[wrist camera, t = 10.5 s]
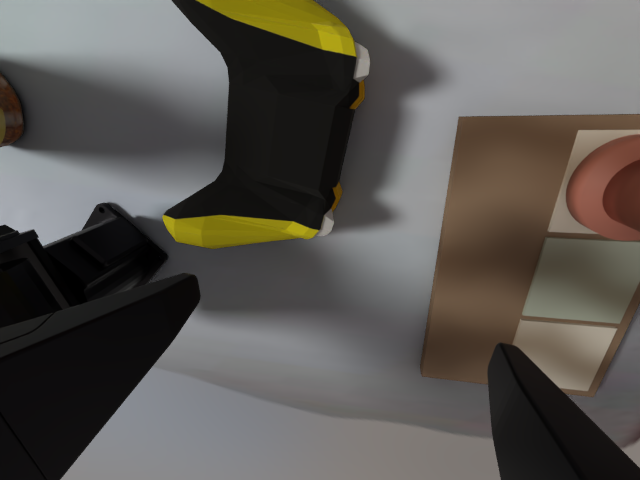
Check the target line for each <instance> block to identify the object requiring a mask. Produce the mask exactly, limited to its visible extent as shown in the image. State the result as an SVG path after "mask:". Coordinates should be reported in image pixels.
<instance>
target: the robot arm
mask: <svg viewBox="0 0 640 480" xmlns="http://www.w3.org/2000/svg"><path fill="white" fill-rule="evenodd" d="M103 209H104V210H105V211H104V210H103ZM159 256H160V257H161V258H160V257H159ZM167 259H168V257H167V254H166V253H165V252H164V251H162V250H161V249H160V248H159V247H158V246H157V245H155V244H154V243H153V242H152V241H151V240H150V239H148V238H147V237H146V236H145V235H144V234H143V233H141V232H140V231H139V230H138V229H137V228H135V227H134V226H133V225H132V224H131V223H130V222H128V221H127V220H126V219H125V218H124V217H123V216H121V215H120V214H119V213H118V212H117V211H116V210H114V209H113V208H112V207H111V206H110V205H109V204H107V203H100V204H98V205H97V206H96V207H95V209H94V211H93V212H92V214H91V216H90V217H89V219H88V221H87V222H86V224H85V226H84V227H83V229H82V230H81V231H79V232H76V233H74V234H72V235H69V236H67V237H64V238H62V239H59V240H57V241H54V242H52V243H50V244H47V245H45V246H42V244H41V243H40V241H39V240H38V235H37V234H36V232H35V231H34V229H33V230H29V231H26V232H22V233H19V232H18V231H17V230H16V231H15V230H14V229H12V228H10V227H8V226H6V225H2V226H0V480H60V479H61V478H62V477H63V476H64V474H65V473H66V472H67V471H68V469H69V468H70V467H71V466H72V464H73V463H74V462H75V461H76V460H77V458H78V457H79V456H80V455H81V453H82V452H83V451H84V450H85V448H86V447H87V446H88V445H89V443H90V442H91V441H92V440H93V439H94V437H95V436H96V435H97V434H98V433H99V431H100V430H101V429H102V427H103V426H104V425H105V424H106V423H107V422H108V420H109V419H110V418H111V417H112V415H113V414H114V413H115V412H116V410H117V409H118V408H119V407H120V406H121V404H122V403H123V402H124V401H125V399H126V398H127V397H128V396H129V395H130V393H131V392H132V391H133V390H134V388H135V387H136V386H137V385H138V383H139V382H140V381H141V380H142V378H143V377H144V376H145V375H146V374H147V372H148V371H149V370H150V369H151V368H152V366H153V365H154V364H155V363H156V361H157V360H158V359H159V358H160V356H161V355H162V354H163V353H164V352H165V350H166V349H167V348H168V347H169V345H170V344H171V343H172V341H173V340H174V339H175V337H176V336H177V334H178V333H179V331H180V330H181V328H182V327H183V326H184V324H185V323H186V321H187V320H188V318H189V317H190V315H191V314H192V312H193V311H194V309H195V308H196V306H197V305H198V303H199V301H200V296H201V295H200V290H199V284H198V279H197V277H196V276H195V275H192V274H188V273H182V274H179V275H175V276H172V277H169V278H165V279H162V280H159V281H156V282H152V283H149V281H150V280H151V279H152V278H153V277H154V275H155V274H156V273H157V272H158V270H159V269H160V268H161V267H162V266H163V264H164V263H165V262H166V261H167ZM148 283H149V284H148ZM487 376H488V388H489V401H490V414H491V426H492V435H493V441H494V446H495V451H496V457H497V462H498V467H499V472H500V477H501V480H640V468H639V467H638V466H637V465H636V464H635V463H634V462H633V461H632V460H631V459H630V458H629V457H628V456H627V455H626V454H625V453H624V452H623V451H622V450H621V449H620V448H619V447H618V446H617V445H616V444H615V443H614V442H613V441H612V440H611V439H610V438H609V437H608V436H607V435H606V434H605V433H604V432H603V431H602V430H601V429H600V428H599V427H598V426H597V425H596V424H595V423H594V422H593V421H592V420H591V419H590V418H589V417H588V416H587V415H586V414H585V413H584V412H583V411H582V410H581V409H580V408H579V407H578V406H577V405H576V404H575V403H574V402H573V401H572V400H571V399H570V398H569V397H568V396H567V395H566V394H565V393H564V392H563V391H562V390H561V389H560V388H559V387H558V386H557V385H556V384H555V383H554V382H553V381H552V380H551V379H550V378H549V377H548V376H547V375H546V374H545V373H544V372H543V371H542V370H541V369H540V368H539V367H538V366H537V365H536V364H535V363H534V362H533V361H532V360H531V359H530V358H529V357H528V356H527V355H526V354H525V353H524V352H523V351H522V350H521V349H520V348H518V347H517V346H515V345H511V344H507V343H502V342H500V343H498V344H497V345H496V346H495V349H494V352H493V354H492V357H491V359H490V362H489V365H488V370H487Z"/></svg>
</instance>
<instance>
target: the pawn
mask: <svg viewBox="0 0 640 480" xmlns="http://www.w3.org/2000/svg"><path fill="white" fill-rule="evenodd" d="M566 204H567V208H568V210H569V212H570V214H571V216H572V217H573V218H574V219H575V220H576V221H577V222H578V223H580V224H581V225H583V226H585V227H587V228H588V229H590V230H592V231H594V232H596V233H598V234H600V235H602V236H604V237H607V238H610V239H614V240H621V241H632V240H640V134H634V135H628V136H624V137H620V138H617V139H614V140H611V141H609V142H607V143H605V144H603V145H602V146H600V147H598V148H597V149H595V150H594V151H593V152H591V153H590V154H589V155H588V156H586V157H585V158H584V159H583V160H582V161H581V163H580V164H579V165H578V166H577V168H576V169H575V170H574V172H573V174H572V175H571V177H570V180H569V182H568V185H567V189H566Z"/></svg>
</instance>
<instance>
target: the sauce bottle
mask: <svg viewBox="0 0 640 480" xmlns="http://www.w3.org/2000/svg"><path fill="white" fill-rule="evenodd" d="M23 127H24V124H23V116H22V108H21V104H20V101H19V99H18V97H17V95H16V93H15V91H14V89H13V88H12V87H11V86H10V84H9V83H8V82H7V80H6V79H5V77H4V76H3V75H2V74H1V73H0V147H2V146H8V145H9V144H11V143H13V142H15V141H16V140H18V139H19V137H21V135H22V134H23V132H24V129H23Z"/></svg>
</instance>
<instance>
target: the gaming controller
mask: <svg viewBox="0 0 640 480" xmlns="http://www.w3.org/2000/svg"><path fill="white" fill-rule="evenodd" d="M172 1H173V3H174V4H175V5H176V6H177V7H178V8H179V9H180V11H181V12H182V13H183V14H184V15H185V16H186V17H187V18H188V20H189V21H190V22H191V23H192V24H193V25H194V26H195V27H196V28H197V29H198V30H199V31H200V32H201V33H202V34H203V35H204V36H205V37H206V38H207V39H208V40H209V41H210V42H211V43H212V44H213V45H214V46H215V47H216V48H217V49H218V50H219V51H220V52H221V54H222V56H223V59H224V61H225V63H226V65H227V67H228V75H229V96H228V114H227V131H226V149H225V161H224V165H223V170H222V172H221V173H220V175H219V176H218V177H217V179H216V180H215V181H214V182H212V183H211V184H209V185H207V186H206V187H204V188H203V189H201V190H199V191H198V192H196V193H195V194H193V195H192V196H190V197H188V198H187V199H185V200H183V201H182V202H180V203H178V204H177V205H175V206H173V207H172V208H170V209H168V210H167V211H166V212H165V213H164V215H163V217H162V218H163V221H164V224H165V226H166V228H167V230H168V231H169V233H170V234H171V235H172V237H173V238H174V239H175V240H176V242H180V243H185V244H190V245H195V246H200V247H205V248H210V249H216V248H223V247H231V246H238V245H246V244H253V243H261V242H269V241H278V240H287V239H295V238H304V239H310V238H313V237H314V236H326V235H327V234H329V233H330V232H331V230H332V227H333V224H334V219H333V213H332V212H333V211H334V209H335V208H336V206H337V204H338V202H339V200H340V198H341V195H342V192H343V191H342V188H341V185H340V182H339V179H340V174H341V170H342V165H343V161H344V156H345V152H346V148H347V143H348V139H349V134H350V130H351V125H352V121H353V117H354V112H355V109H356V108H357V107H358V106H359V105H360V103H361V102H362V101H363V100H364V99H365V86H364V78H365V77H367V76H368V74H369V67H370V58H369V54H368V49H366V48H364V47H363V46H361V45H360V44H358V43H357V42H355V41H354V40H353V38H352V36H351V34H350V32H349V30H348V28H347V27H346V26H345V25H344V24H343V23H342V22H341V21H340V20H339V19H338V18H337V17H336V16H334V15H333V14H331V13H330V12H329V11H327V10H326V9H324V8H323V7H322V6H320V5H319V4H317V3H316V2H315V1H313V0H172Z"/></svg>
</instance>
